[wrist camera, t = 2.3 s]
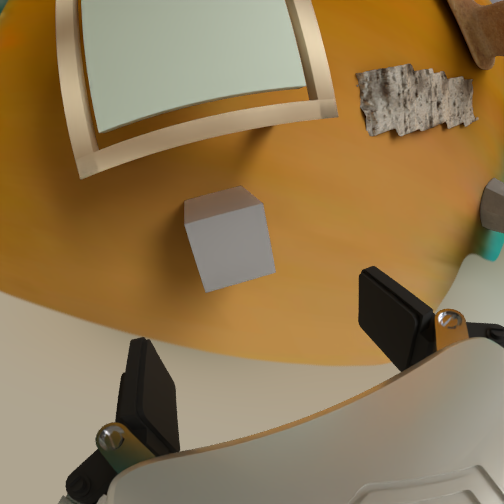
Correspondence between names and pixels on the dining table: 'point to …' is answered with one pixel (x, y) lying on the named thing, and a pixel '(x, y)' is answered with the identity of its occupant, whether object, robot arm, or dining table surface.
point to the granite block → (228, 237)
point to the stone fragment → (413, 99)
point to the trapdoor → (184, 54)
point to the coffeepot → (493, 206)
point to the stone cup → (481, 29)
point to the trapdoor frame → (195, 130)
